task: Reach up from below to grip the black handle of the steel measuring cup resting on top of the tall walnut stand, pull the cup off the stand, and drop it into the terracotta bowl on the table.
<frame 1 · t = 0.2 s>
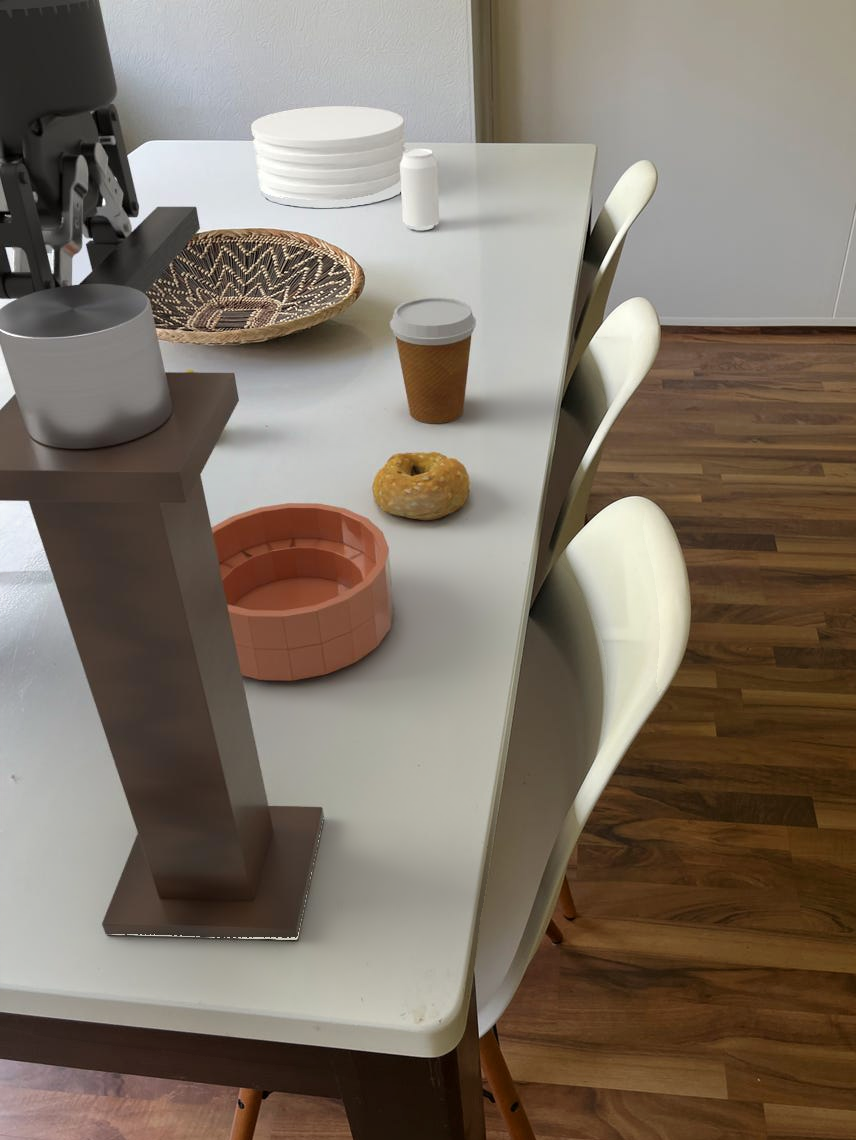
hand: (97, 335, 57), 32 cm above the table, tool pointing down, fingers open, 8 cm apart
bagel: (421, 500, 104), on the table
beverage can: (421, 228, 176), on the table
stand: (221, 873, 67), on the table
measuring cup: (100, 417, 47), point 33 cm above the table, touching stand
bowl: (296, 623, 88), on the table
disposable coffee cup: (436, 413, 120), on the table
lemon: (202, 439, 115), on the table
plate stack: (334, 188, 196), on the table
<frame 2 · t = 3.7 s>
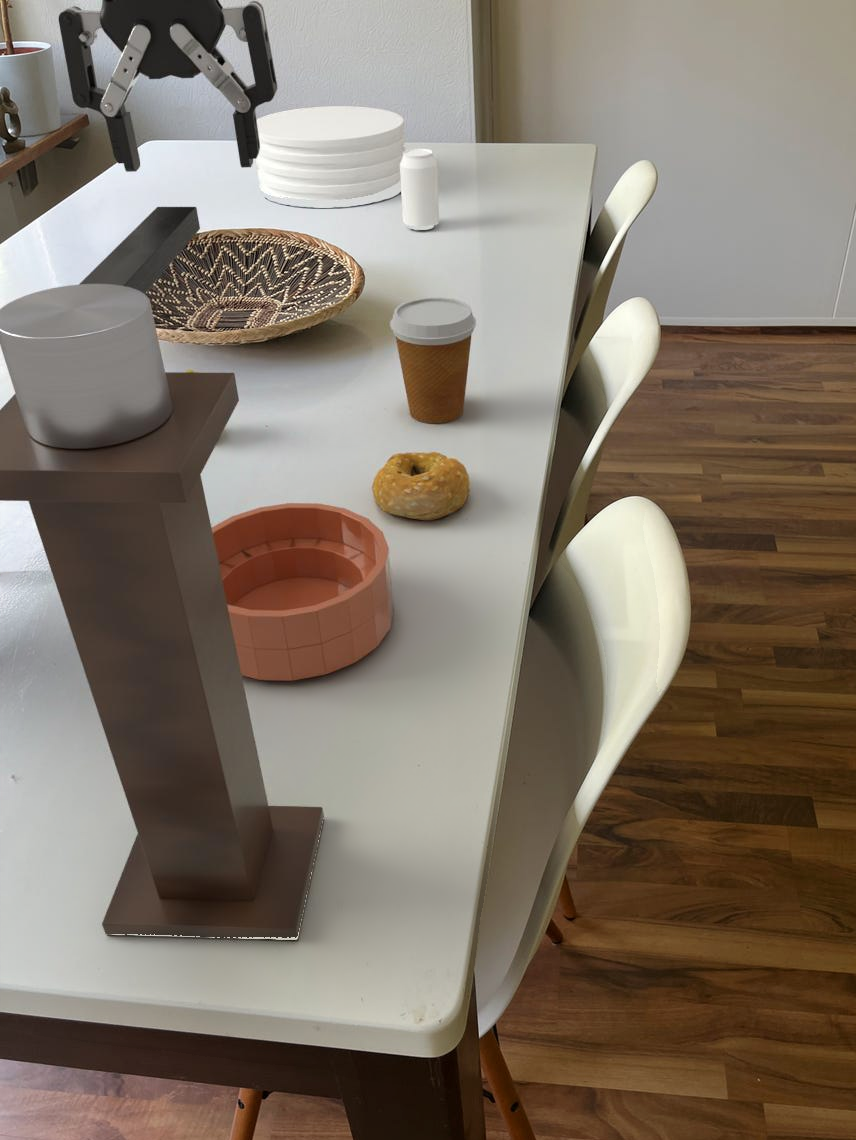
hand: (190, 167, 77), 34 cm above the table, tool pointing down, fingers open, 8 cm apart
nothing on the table moved.
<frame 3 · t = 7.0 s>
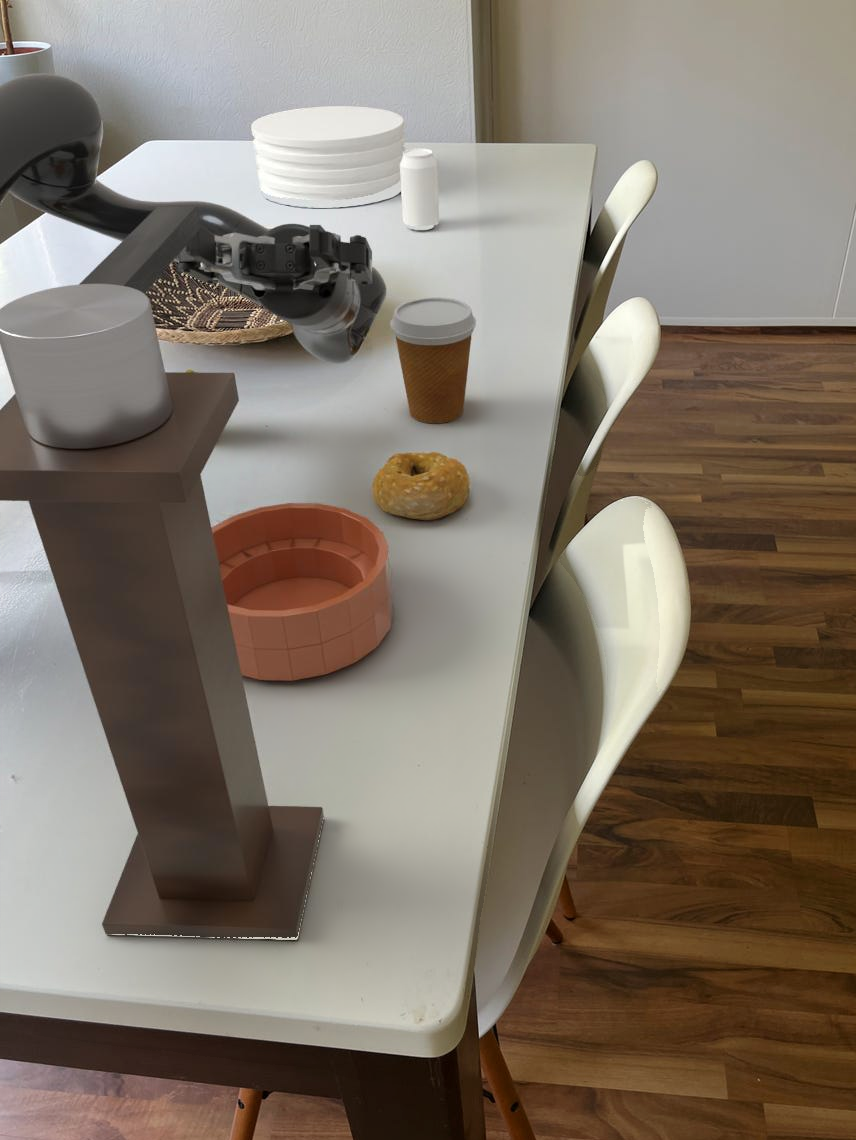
hand: (253, 239, 72), 31 cm above the table, tool pointing upward, fingers open, 8 cm apart
nothing on the table moved.
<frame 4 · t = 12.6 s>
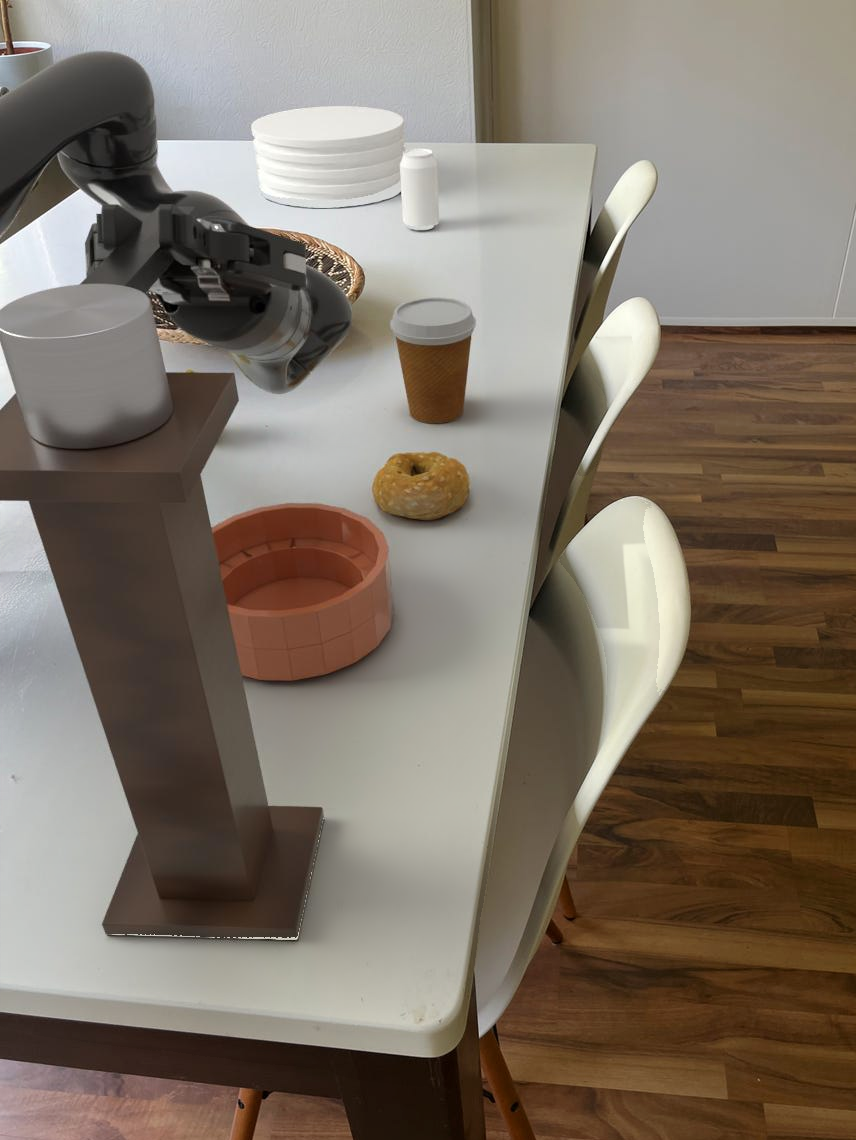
hand: (136, 225, 50), 38 cm above the table, tool pointing upward, fingers closed on measuring cup
measuring cup: (101, 416, 47), point 33 cm above the table, touching gripper, stand
everything else where it was.
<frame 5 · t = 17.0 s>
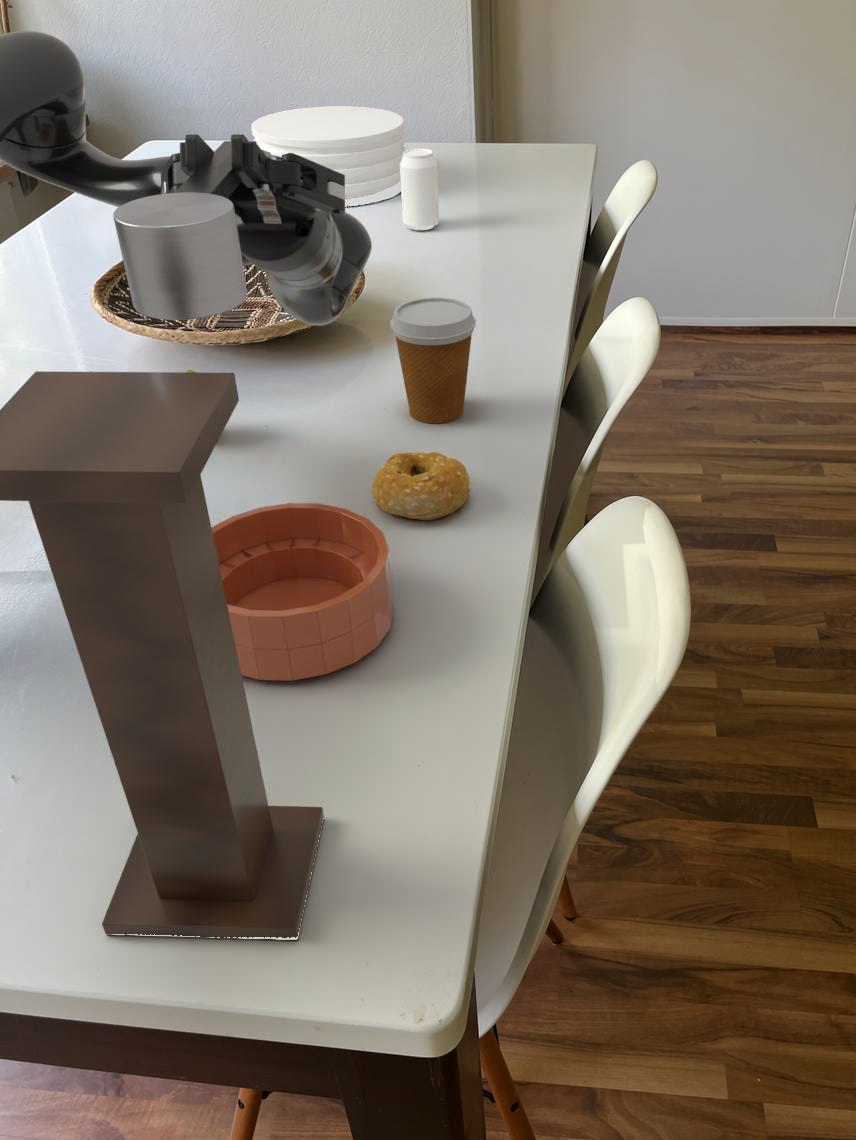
hand: (213, 151, 62), 38 cm above the table, tool pointing upward, fingers closed on measuring cup
measuring cup: (191, 299, 59), point 32 cm above the table, touching gripper
everything else where it was.
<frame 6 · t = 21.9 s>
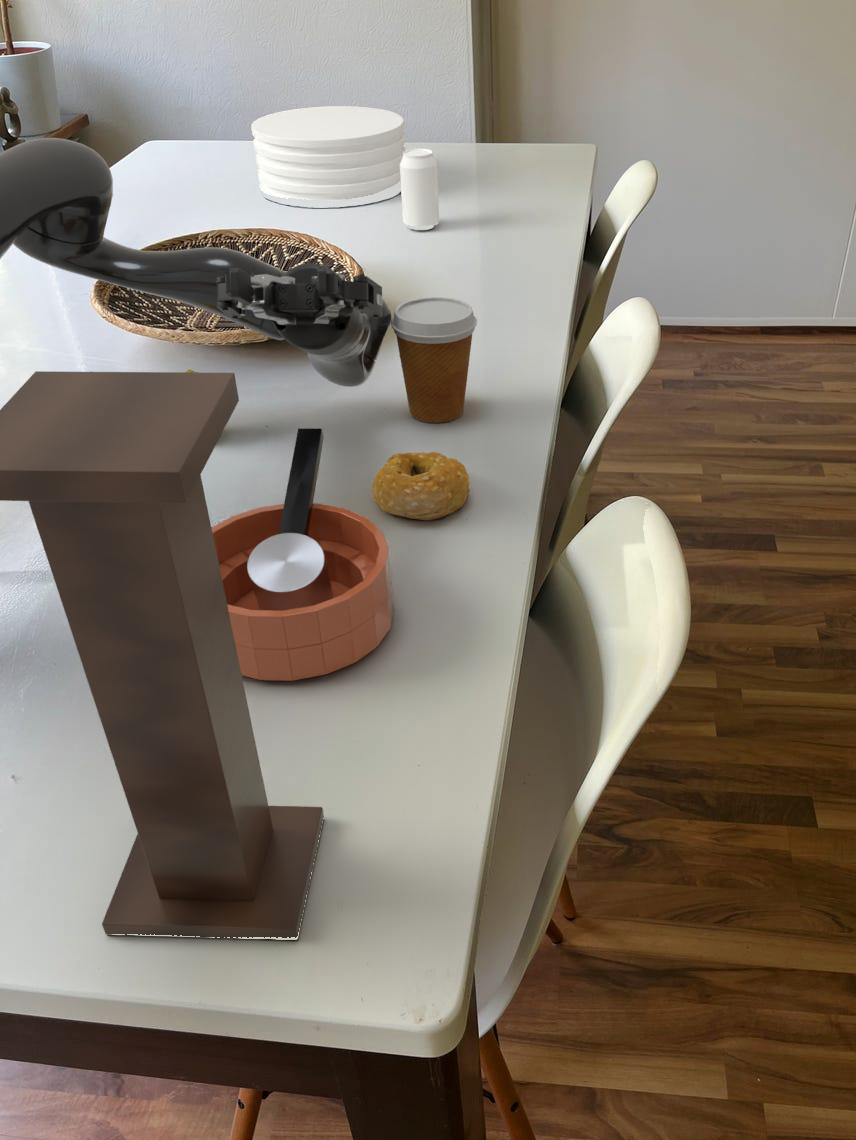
hand: (277, 281, 80), 26 cm above the table, tool pointing upward, fingers open, 6 cm apart
measuring cup: (295, 598, 88), point 1 cm above the table, tilted 16°, touching bowl
disposable coffee cup: (436, 413, 120), on the table, touching arm
everything else where it was.
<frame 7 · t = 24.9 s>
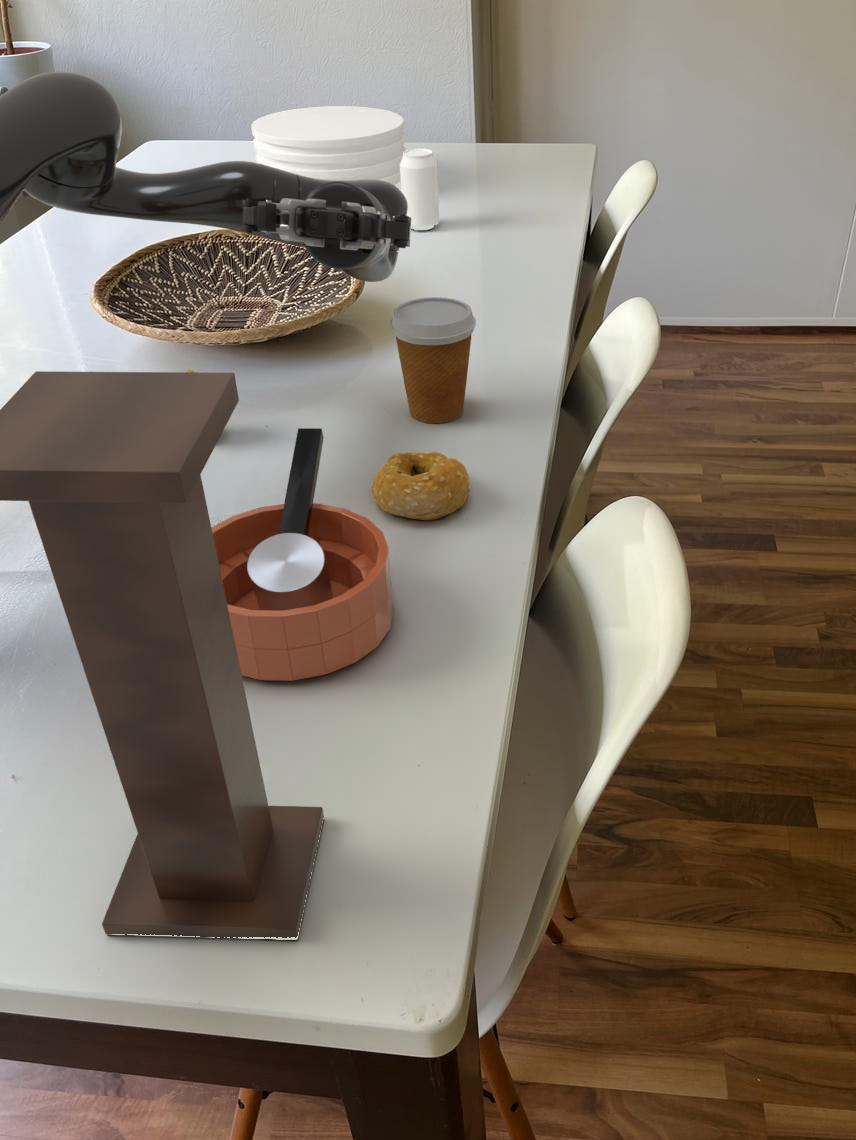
hand: (313, 221, 82), 29 cm above the table, tool pointing upward, fingers open, 8 cm apart
disposable coffee cup: (436, 413, 120), on the table
everything else where it was.
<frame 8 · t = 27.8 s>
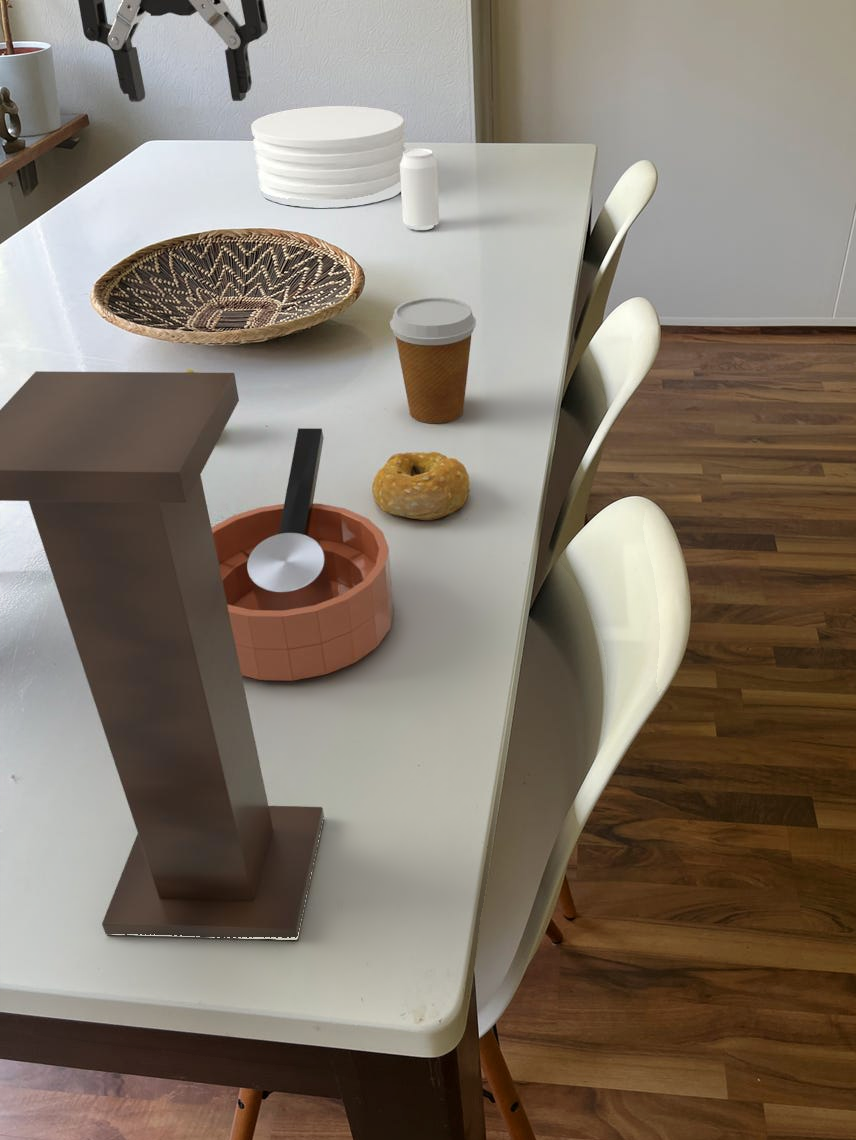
hand: (188, 99, 85), 36 cm above the table, tool pointing down, fingers open, 8 cm apart
nothing on the table moved.
at the end: measuring cup inside the target area in the bowl (1.5 cm from its centre), point 1.5 cm above the bowl's base; measuring cup touching bowl; the gripper is holding nothing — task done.
